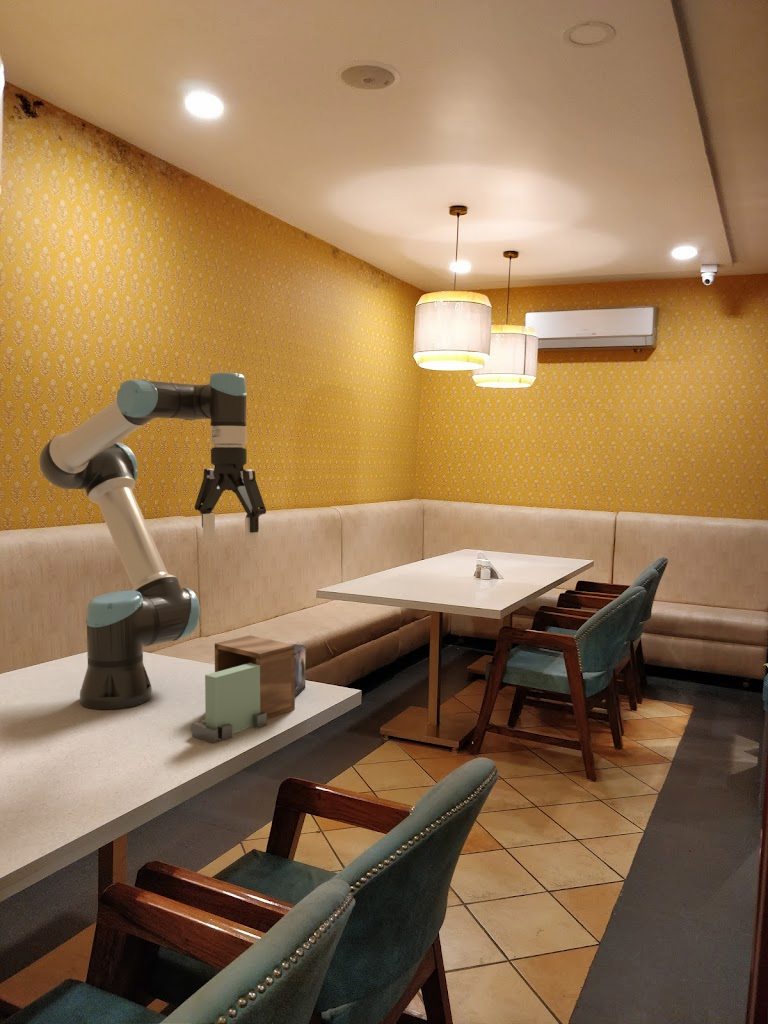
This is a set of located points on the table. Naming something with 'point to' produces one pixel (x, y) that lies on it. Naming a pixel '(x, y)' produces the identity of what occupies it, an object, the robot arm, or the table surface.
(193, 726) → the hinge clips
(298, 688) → the small box
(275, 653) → the cabinet
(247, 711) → the door
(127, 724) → the table surface
